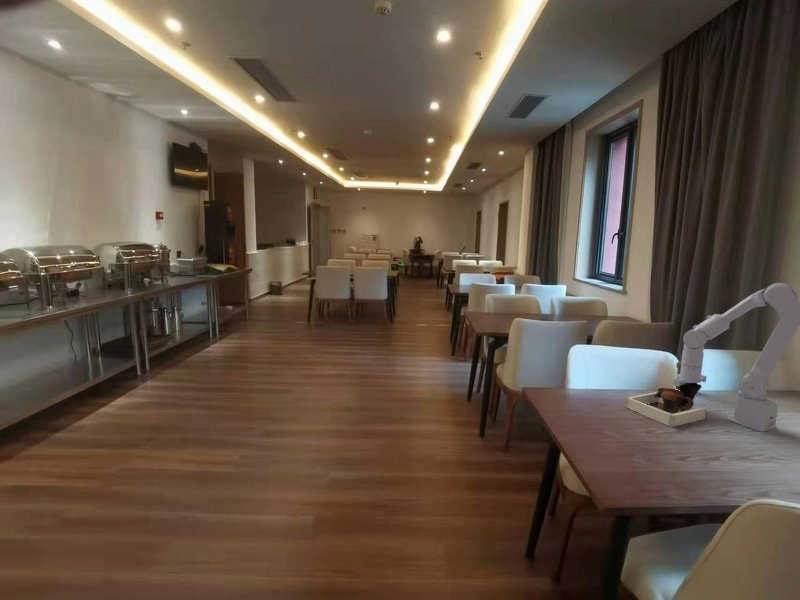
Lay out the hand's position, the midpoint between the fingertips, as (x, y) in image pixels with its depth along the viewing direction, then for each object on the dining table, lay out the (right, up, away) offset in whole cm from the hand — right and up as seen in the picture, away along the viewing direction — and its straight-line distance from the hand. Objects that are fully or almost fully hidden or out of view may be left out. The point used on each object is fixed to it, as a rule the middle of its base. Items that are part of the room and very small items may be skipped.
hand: (686, 403), depth 141 cm
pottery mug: (-6, -2, -2) cm, 7 cm away
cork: (+11, +1, +19) cm, 22 cm away
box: (-11, -2, -5) cm, 12 cm away
